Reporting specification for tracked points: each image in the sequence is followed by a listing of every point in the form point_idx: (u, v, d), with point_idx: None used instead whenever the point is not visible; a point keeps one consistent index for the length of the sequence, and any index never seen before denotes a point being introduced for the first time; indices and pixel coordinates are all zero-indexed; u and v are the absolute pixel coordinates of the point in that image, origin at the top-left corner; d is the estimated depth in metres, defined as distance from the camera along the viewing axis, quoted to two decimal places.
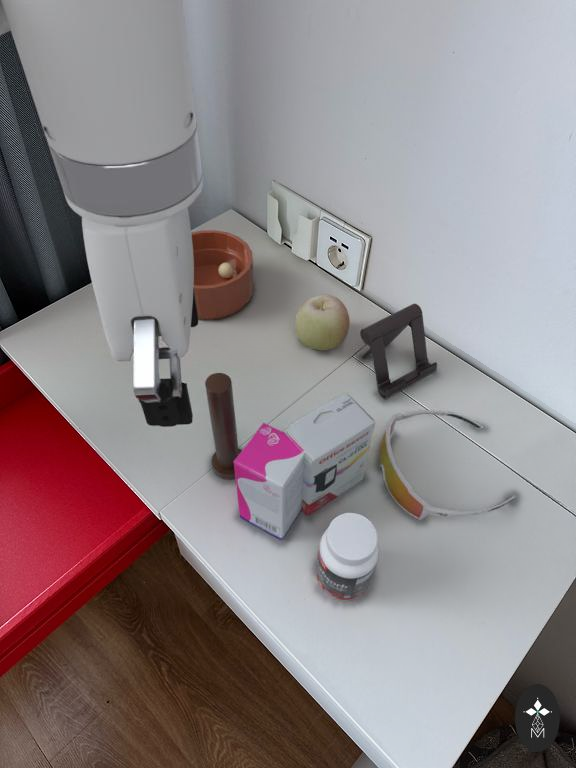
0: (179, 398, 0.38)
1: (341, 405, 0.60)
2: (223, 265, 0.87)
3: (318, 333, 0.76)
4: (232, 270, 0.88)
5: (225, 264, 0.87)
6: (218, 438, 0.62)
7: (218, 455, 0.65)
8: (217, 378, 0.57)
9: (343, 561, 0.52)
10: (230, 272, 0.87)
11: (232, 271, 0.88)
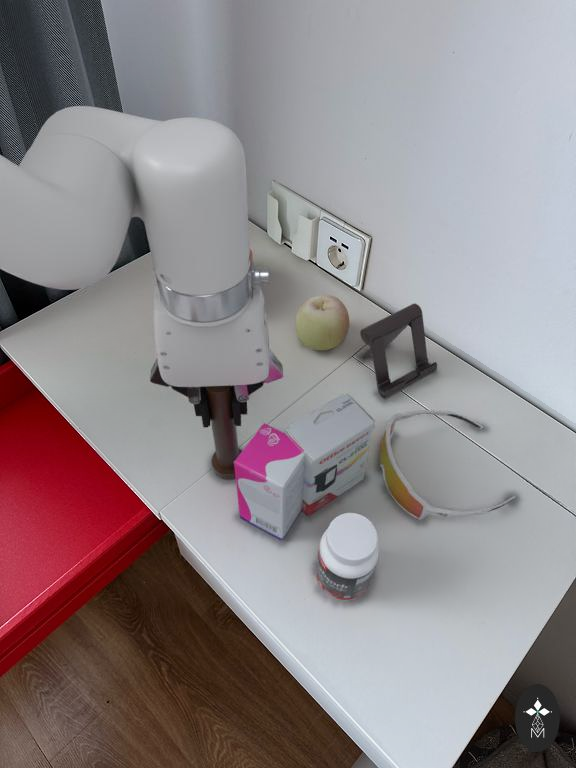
0: None
1: (341, 405, 0.60)
2: None
3: (318, 333, 0.76)
4: None
5: None
6: (218, 438, 0.62)
7: (218, 455, 0.65)
8: None
9: (343, 561, 0.52)
10: None
11: None
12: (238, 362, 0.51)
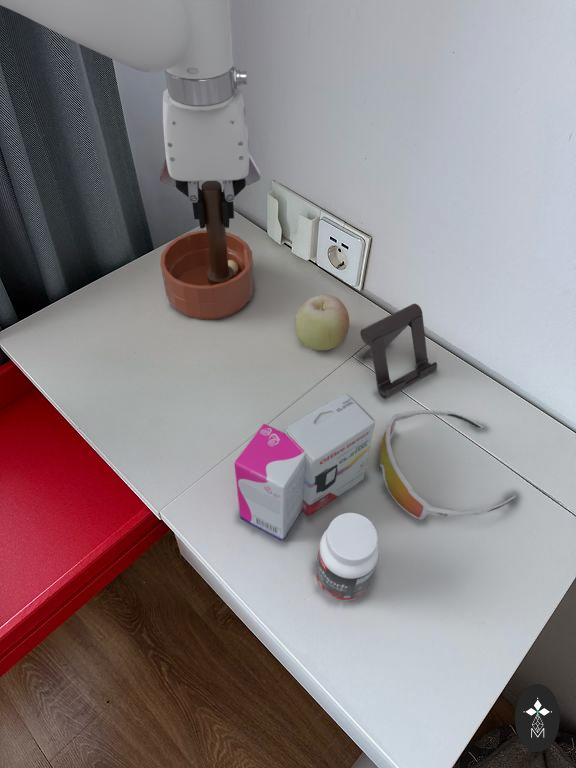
0: (198, 208, 0.76)
1: (341, 405, 0.60)
2: (231, 260, 0.88)
3: (318, 333, 0.76)
4: (237, 269, 0.88)
5: (233, 261, 0.88)
6: (211, 242, 0.80)
7: (212, 263, 0.83)
8: (210, 183, 0.75)
9: (343, 561, 0.52)
10: (236, 269, 0.88)
11: (237, 270, 0.88)
12: (225, 154, 0.69)
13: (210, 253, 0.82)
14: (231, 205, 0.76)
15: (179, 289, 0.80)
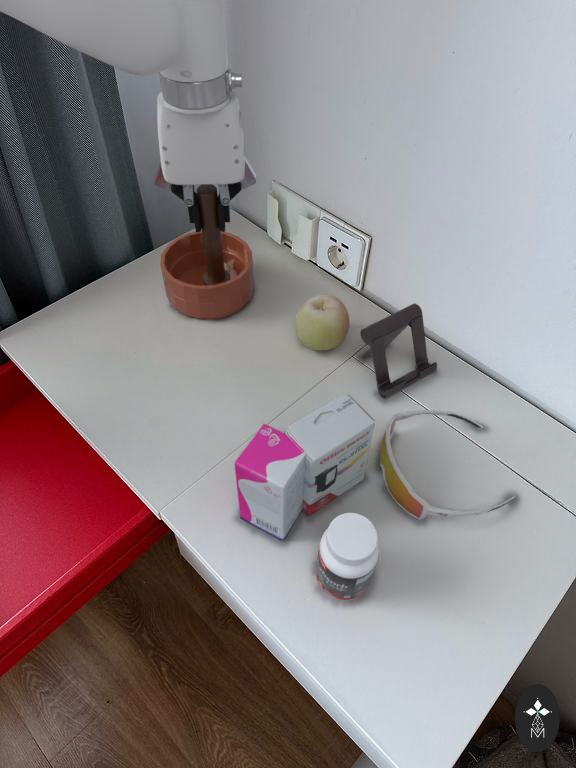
0: None
1: (341, 405, 0.60)
2: None
3: (318, 333, 0.76)
4: None
5: None
6: (207, 246, 0.79)
7: (208, 267, 0.82)
8: (206, 186, 0.74)
9: (343, 561, 0.52)
10: None
11: None
12: (221, 158, 0.68)
13: (206, 257, 0.81)
14: (227, 209, 0.75)
15: (179, 289, 0.80)
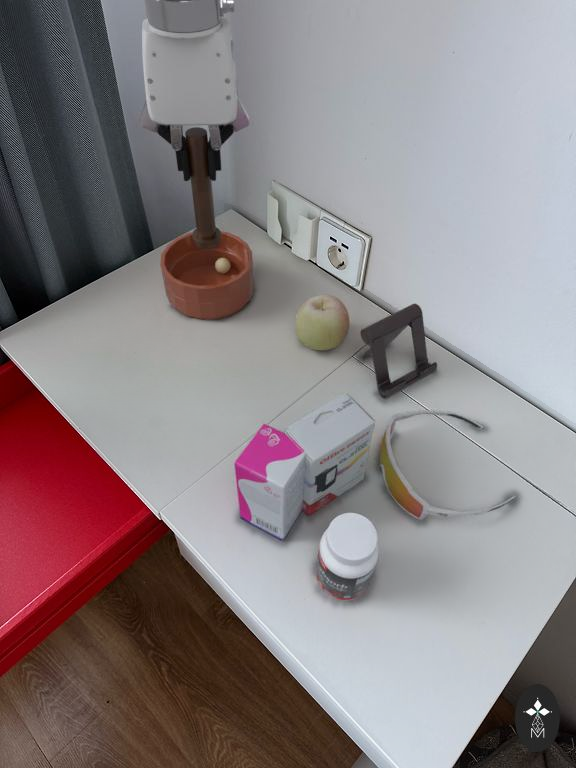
0: None
1: (341, 405, 0.60)
2: (220, 258, 0.88)
3: (318, 333, 0.76)
4: (227, 264, 0.88)
5: (222, 258, 0.88)
6: (197, 198, 0.74)
7: (197, 222, 0.77)
8: (195, 130, 0.69)
9: (343, 561, 0.52)
10: (225, 265, 0.88)
11: (227, 265, 0.88)
12: (211, 93, 0.63)
13: (195, 211, 0.76)
14: (218, 155, 0.70)
15: (179, 289, 0.80)
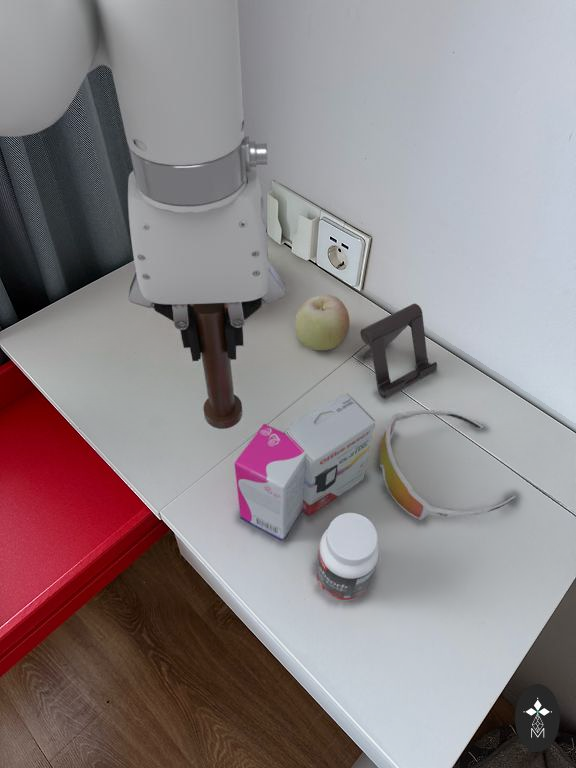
0: None
1: (341, 405, 0.60)
2: None
3: (318, 333, 0.76)
4: None
5: None
6: (210, 376, 0.54)
7: (211, 399, 0.57)
8: None
9: (343, 561, 0.52)
10: None
11: None
12: (231, 269, 0.43)
13: (208, 387, 0.56)
14: (239, 330, 0.50)
15: None
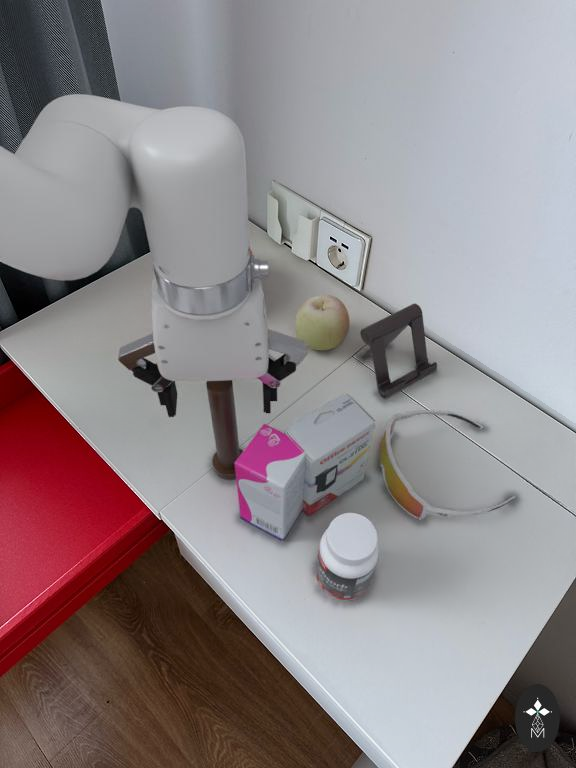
0: None
1: (341, 405, 0.60)
2: None
3: (318, 333, 0.76)
4: None
5: None
6: (219, 438, 0.62)
7: (219, 455, 0.65)
8: None
9: (343, 561, 0.52)
10: None
11: None
12: (237, 356, 0.50)
13: (217, 446, 0.64)
14: (275, 389, 0.57)
15: None
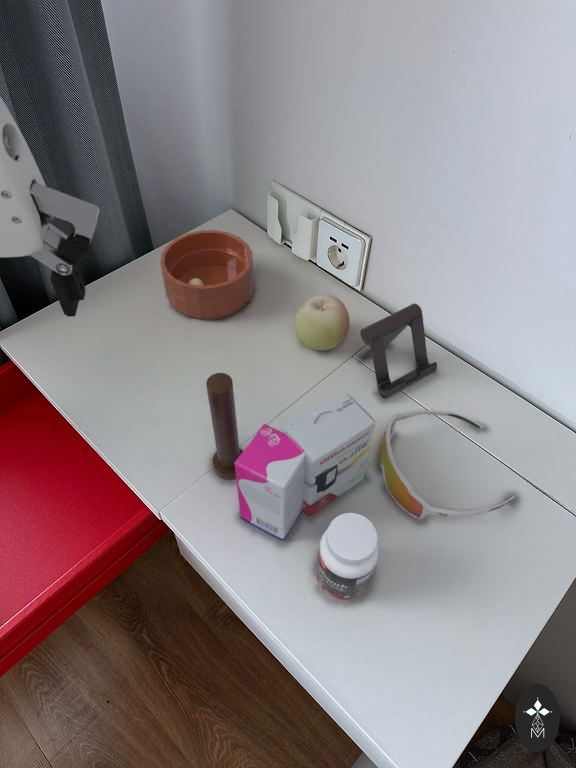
0: None
1: (341, 405, 0.60)
2: None
3: (318, 333, 0.76)
4: (202, 283, 0.85)
5: None
6: (219, 438, 0.62)
7: (219, 455, 0.65)
8: (218, 378, 0.57)
9: (343, 561, 0.52)
10: (200, 281, 0.85)
11: (201, 283, 0.85)
12: None
13: (217, 446, 0.64)
14: (71, 280, 0.42)
15: (179, 289, 0.80)
